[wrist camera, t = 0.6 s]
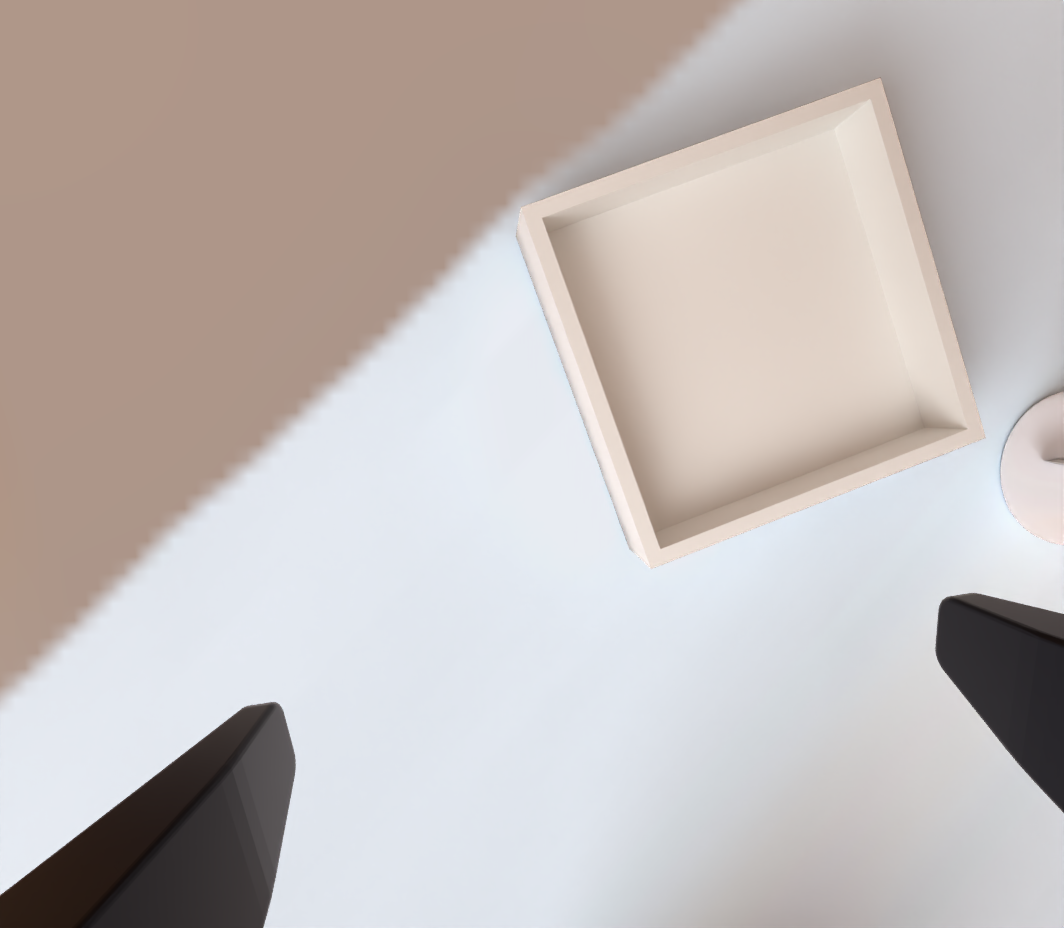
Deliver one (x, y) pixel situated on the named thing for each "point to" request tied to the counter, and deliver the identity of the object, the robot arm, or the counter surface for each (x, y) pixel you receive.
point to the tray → (751, 323)
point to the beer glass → (1037, 470)
